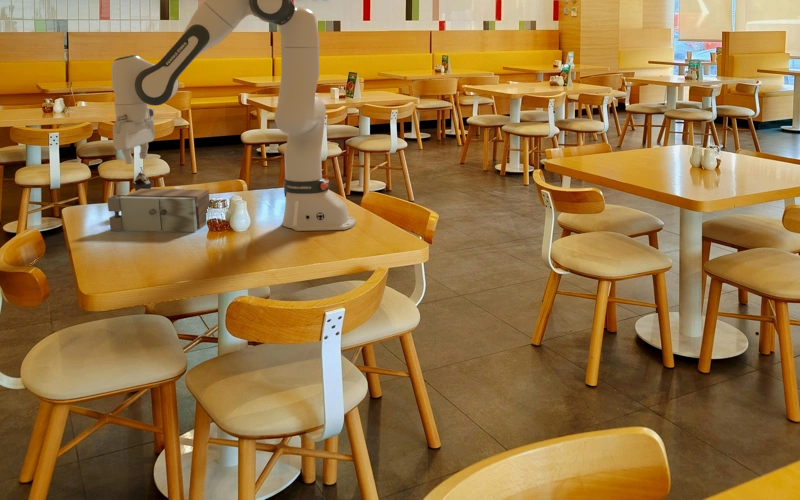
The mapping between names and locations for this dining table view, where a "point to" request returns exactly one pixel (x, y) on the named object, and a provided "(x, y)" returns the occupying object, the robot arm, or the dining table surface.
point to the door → (135, 213)
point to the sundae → (142, 182)
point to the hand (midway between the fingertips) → (136, 161)
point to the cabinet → (178, 208)
